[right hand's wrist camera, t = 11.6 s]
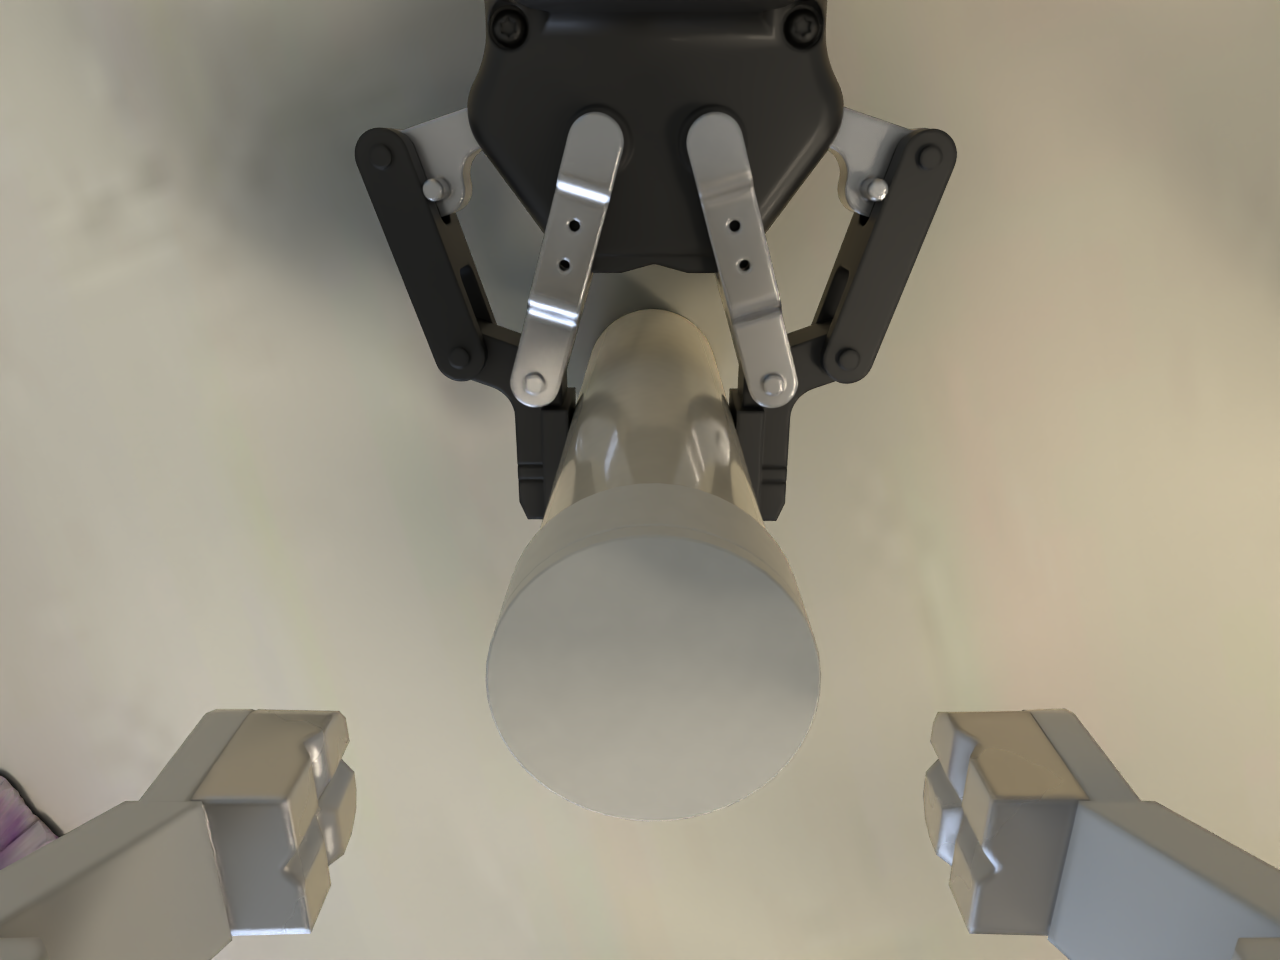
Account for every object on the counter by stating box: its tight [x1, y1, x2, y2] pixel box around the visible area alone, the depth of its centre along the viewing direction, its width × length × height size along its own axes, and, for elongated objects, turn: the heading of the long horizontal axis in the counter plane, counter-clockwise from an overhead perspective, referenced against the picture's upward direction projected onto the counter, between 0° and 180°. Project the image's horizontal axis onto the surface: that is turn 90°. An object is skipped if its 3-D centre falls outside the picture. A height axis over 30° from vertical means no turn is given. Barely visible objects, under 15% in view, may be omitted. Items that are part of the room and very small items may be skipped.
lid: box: [486, 483, 821, 821], centre depth 13 cm, size 5×5×2 cm
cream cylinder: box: [540, 309, 765, 530], centre depth 21 cm, size 4×4×18 cm
